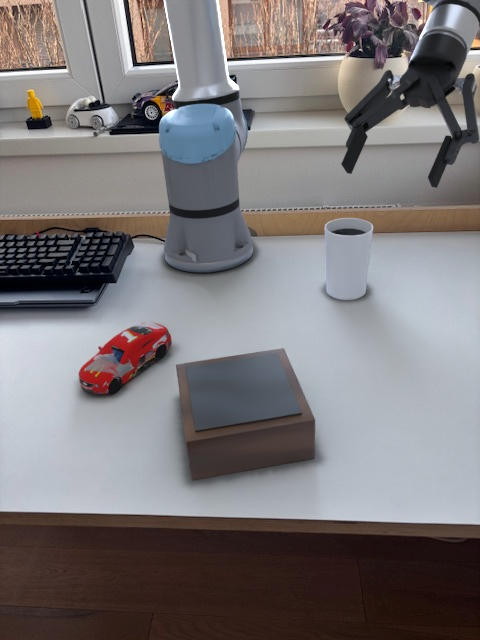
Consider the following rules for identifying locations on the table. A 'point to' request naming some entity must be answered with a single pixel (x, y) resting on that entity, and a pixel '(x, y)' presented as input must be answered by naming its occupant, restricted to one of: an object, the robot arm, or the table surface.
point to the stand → (244, 413)
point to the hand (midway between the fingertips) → (387, 175)
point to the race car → (124, 357)
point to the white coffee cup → (347, 257)
